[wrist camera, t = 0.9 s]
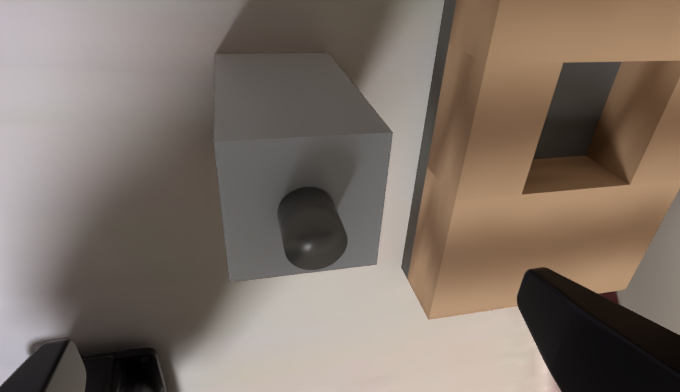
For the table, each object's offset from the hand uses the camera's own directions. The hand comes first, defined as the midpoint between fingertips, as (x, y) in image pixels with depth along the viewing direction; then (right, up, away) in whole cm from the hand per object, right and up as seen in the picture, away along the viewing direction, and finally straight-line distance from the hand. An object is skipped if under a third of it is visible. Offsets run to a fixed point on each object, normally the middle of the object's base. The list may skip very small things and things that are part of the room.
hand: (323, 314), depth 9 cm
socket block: (+10, +7, +13) cm, 18 cm away
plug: (-2, +6, +10) cm, 12 cm away
